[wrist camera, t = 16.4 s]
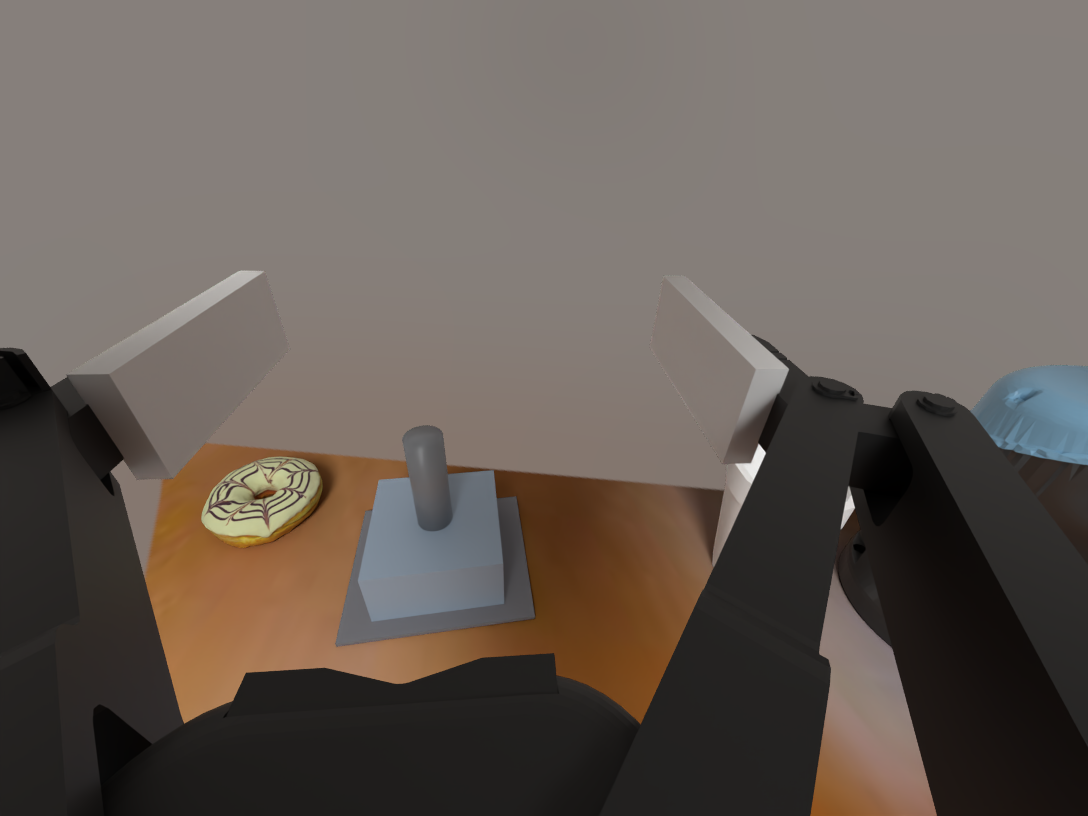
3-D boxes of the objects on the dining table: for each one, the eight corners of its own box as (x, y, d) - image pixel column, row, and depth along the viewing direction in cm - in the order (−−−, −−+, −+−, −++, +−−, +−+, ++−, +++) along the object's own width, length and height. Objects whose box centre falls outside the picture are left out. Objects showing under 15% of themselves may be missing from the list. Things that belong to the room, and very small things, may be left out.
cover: (495, 508, 46) (490, 394, 38) (504, 603, 37) (501, 480, 29) (388, 519, 45) (360, 402, 36) (371, 621, 36) (328, 496, 28)
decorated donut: (185, 543, 42) (167, 517, 40) (262, 470, 51) (250, 445, 49) (282, 560, 41) (269, 534, 39) (344, 482, 50) (336, 457, 48)
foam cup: (698, 519, 47) (733, 423, 39) (791, 545, 44) (846, 447, 37) (693, 595, 39) (734, 492, 32) (804, 630, 37) (876, 529, 30)
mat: (516, 499, 48) (516, 496, 48) (534, 618, 37) (534, 615, 37) (366, 513, 46) (365, 510, 46) (336, 646, 34) (335, 644, 34)
